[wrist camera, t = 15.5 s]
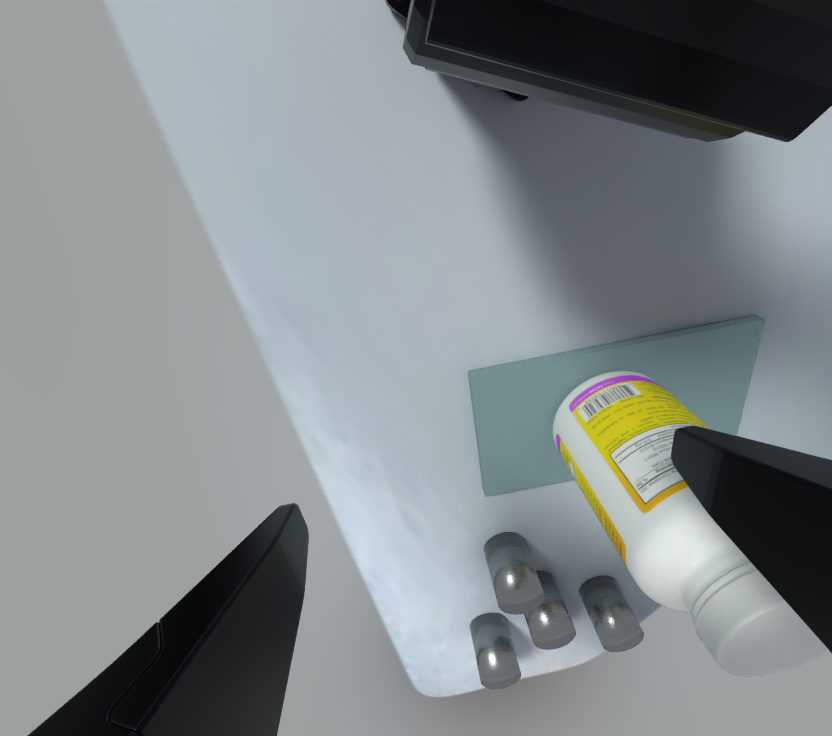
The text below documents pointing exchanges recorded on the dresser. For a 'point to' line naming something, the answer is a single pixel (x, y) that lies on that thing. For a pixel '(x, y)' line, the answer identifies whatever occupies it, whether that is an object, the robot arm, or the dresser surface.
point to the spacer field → (541, 612)
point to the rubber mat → (561, 373)
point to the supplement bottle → (673, 524)
